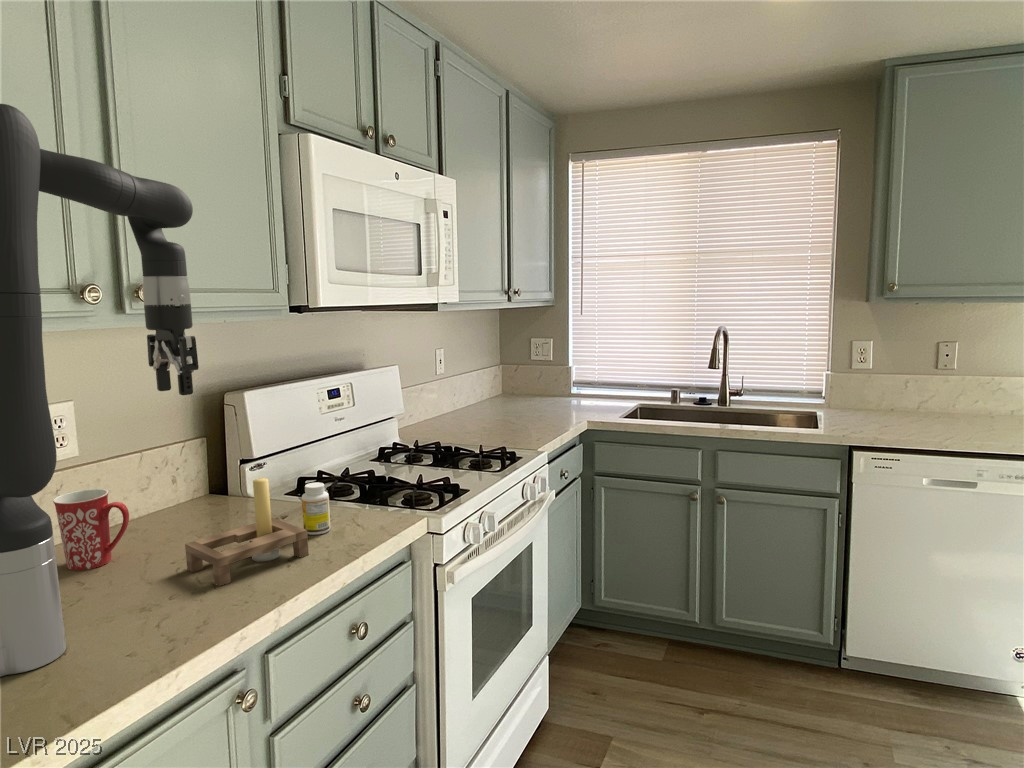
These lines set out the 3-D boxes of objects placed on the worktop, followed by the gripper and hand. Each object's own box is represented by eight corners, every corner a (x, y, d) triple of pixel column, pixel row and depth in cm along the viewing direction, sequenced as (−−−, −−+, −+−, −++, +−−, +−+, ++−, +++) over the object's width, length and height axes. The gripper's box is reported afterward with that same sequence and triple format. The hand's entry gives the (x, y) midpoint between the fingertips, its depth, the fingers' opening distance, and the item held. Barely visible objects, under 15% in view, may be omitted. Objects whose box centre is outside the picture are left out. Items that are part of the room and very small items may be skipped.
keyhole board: (220, 586, 121) (217, 559, 120) (187, 569, 129) (185, 543, 128) (308, 554, 135) (307, 530, 134) (274, 541, 142) (272, 517, 142)
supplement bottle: (310, 526, 151) (307, 480, 150) (334, 527, 150) (332, 481, 149) (299, 535, 146) (296, 488, 144) (324, 536, 145) (321, 488, 143)
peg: (261, 563, 131) (255, 485, 129) (247, 557, 134) (241, 481, 132) (284, 555, 135) (279, 479, 133) (270, 549, 138) (265, 475, 136)
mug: (49, 573, 128) (41, 503, 126) (79, 555, 137) (72, 489, 135) (118, 572, 128) (111, 501, 126) (143, 553, 137) (137, 487, 135)
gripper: (128, 303, 125) (136, 392, 127) (164, 303, 116) (172, 398, 118) (170, 302, 131) (177, 387, 133) (207, 302, 122) (214, 393, 124)
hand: (175, 392), depth 125 cm, fingers open, 8 cm apart
